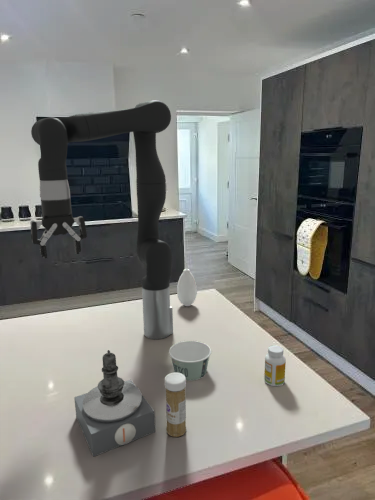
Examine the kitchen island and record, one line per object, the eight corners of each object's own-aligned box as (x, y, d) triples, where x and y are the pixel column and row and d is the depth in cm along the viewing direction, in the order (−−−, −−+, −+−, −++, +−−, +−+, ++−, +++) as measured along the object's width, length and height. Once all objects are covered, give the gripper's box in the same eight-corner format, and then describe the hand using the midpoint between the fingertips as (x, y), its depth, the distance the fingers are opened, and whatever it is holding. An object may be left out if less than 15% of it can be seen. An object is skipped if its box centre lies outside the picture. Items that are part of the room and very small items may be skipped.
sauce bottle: (185, 300, 159) (184, 259, 155) (200, 304, 155) (200, 262, 151) (173, 306, 153) (172, 264, 149) (189, 310, 149) (188, 267, 144)
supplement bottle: (285, 377, 104) (287, 345, 102) (283, 388, 99) (285, 355, 97) (265, 374, 106) (266, 342, 103) (262, 384, 101) (264, 352, 98)
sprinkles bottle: (162, 431, 84) (160, 378, 81) (175, 420, 88) (174, 369, 84) (177, 441, 81) (176, 386, 78) (190, 429, 85) (190, 376, 81)
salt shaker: (119, 407, 82) (116, 358, 79) (94, 404, 83) (89, 355, 80) (128, 391, 87) (126, 344, 84) (105, 388, 89) (101, 342, 86)
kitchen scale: (131, 398, 96) (130, 379, 95) (156, 433, 84) (155, 412, 82) (76, 417, 89) (74, 397, 88) (94, 458, 77) (92, 436, 76)
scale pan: (129, 384, 94) (129, 375, 94) (151, 414, 83) (151, 404, 83) (77, 401, 88) (76, 392, 87) (93, 436, 77) (92, 425, 77)
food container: (218, 366, 110) (218, 345, 108) (199, 388, 100) (199, 366, 98) (182, 356, 116) (181, 336, 114) (161, 376, 105) (160, 355, 104)
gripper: (29, 200, 94) (36, 263, 98) (86, 196, 101) (90, 255, 105) (25, 197, 100) (32, 256, 104) (78, 194, 107) (83, 249, 111)
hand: (61, 255), depth 105 cm, fingers open, 8 cm apart
